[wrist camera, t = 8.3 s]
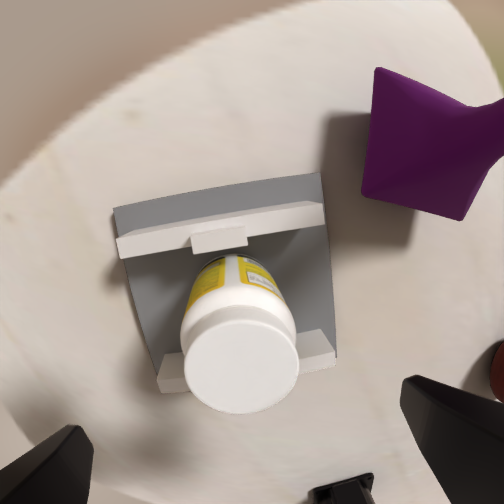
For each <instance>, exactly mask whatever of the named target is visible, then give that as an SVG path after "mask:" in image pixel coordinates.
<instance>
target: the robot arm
mask: <svg viewBox="0 0 504 504" xmlns="http://www.w3.org/2000/svg"><path fill="white" fill-rule="evenodd" d="M400 407H401V409H402V412H403V414H404V416H405V418H406V420H407V423H408V425H409V427H410V429H411V432H412V434H413V436H414V438H415V441H416V443H417V445H418V447H419V449H420V451H421V453H422V455H423V456H424V458H425V460H426V461H427V463H428V465H429V466H430V468H431V470H432V471H433V473H434V475H435V476H436V478H437V480H438V482H439V483H440V485H441V487H442V488H443V490H444V492H445V494H446V495H447V497H448V499H449V501H450V502H451V504H504V403H501V402H497V401H494V400H491V399H488V398H485V397H482V396H479V395H475V394H472V393H469V392H466V391H463V390H460V389H457V388H454V387H451V386H449V385H446V384H443V383H440V382H437V381H434V380H431V379H429V378H426V377H423V376H420V375H413V376H410V377H408V378H405V379H404V380H403V382H402V389H401V396H400ZM93 454H94V449H93V445H92V443H91V442H90V440H89V438H88V437H87V435H86V433H85V432H84V430H83V428H82V427H81V426H79V425H66V426H65V427H63V428H62V429H60V430H59V431H58V432H56V433H55V434H53V435H52V436H50V437H49V438H47V439H46V440H45V441H43V442H42V443H40V444H39V445H37V446H36V447H34V448H33V449H32V450H30V451H28V452H27V453H25V454H24V455H22V456H21V457H19V458H18V459H16V460H15V461H14V462H12V463H10V464H9V465H8V466H6V467H4V468H3V469H1V470H0V504H87V501H88V496H89V489H90V480H91V470H92V462H93ZM373 480H374V475H373V473H368V474H365V475H362V476H359V477H356V478H353V479H349V480H346V481H342V482H339V483H335V484H331V485H328V486H324V487H320V488H316V489H314V490H313V504H375V502H374V500H373V498H372V495H371V489H372V485H373Z"/></svg>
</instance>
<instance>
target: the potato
mask: <svg viewBox="0 0 504 504" xmlns="http://www.w3.org/2000/svg"><path fill="white" fill-rule="evenodd" d="M490 386H491V388H492V391H493V393H494V395H495V397H496V398H497V399H498V400H499V401H501V402H502V403H504V342H503V343H502V344H501V345H500V347H499V348H498V350H497V352H496V354H495V356H494V359H493V362H492V365H491V371H490Z"/></svg>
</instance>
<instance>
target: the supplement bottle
mask: <svg viewBox="0 0 504 504" xmlns="http://www.w3.org/2000/svg"><path fill="white" fill-rule="evenodd" d="M180 340H181V347H182V351H183V354H184V356H185V358H184V375H185V379H186V382H187V384H188V387H189V388H190V390H191V392H192V393H193V394H194V395H195V396H196V397H197V398H198V399H199V400H200V401H201V402H202V403H204V404H205V405H207V406H209V407H210V408H212V409H215V410H217V411H220V412H224V413H229V414H252V413H256V412H260V411H263V410H266V409H268V408H270V407H272V406H274V405H276V404H277V403H278V402H280V401H281V400H282V399H283V398H284V397H286V396H287V394H288V393H289V392H290V391H291V389H292V388H293V386H294V384H295V382H296V380H297V377H298V373H299V357H298V353H297V350H296V347H295V345H296V327H295V322H294V319H293V316H292V314H291V312H290V310H289V308H288V306H287V304H286V302H285V301H284V298H283V296H282V294H281V293H280V291H279V289H278V287H277V285H276V283H275V281H274V279H273V277H272V276H271V274H270V272H269V271H268V269H267V268H266V267H265V266H264V265H263V264H262V263H261V262H259V261H258V260H256V259H254V258H253V257H250V256H247V255H243V254H226V255H222V256H219V257H216V258H214V259H212V260H211V261H209V262H208V263H207V264H205V265H204V266H203V267H202V269H201V270H200V271H199V273H198V274H197V276H196V279H195V281H194V284H193V287H192V291H191V294H190V297H189V301H188V304H187V307H186V311H185V314H184V318H183V321H182V325H181V332H180Z"/></svg>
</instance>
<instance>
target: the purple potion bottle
mask: <svg viewBox="0 0 504 504" xmlns="http://www.w3.org/2000/svg"><path fill="white" fill-rule="evenodd" d="M502 156H504V98H502V99H500V100H498V101H496V102H494V103H492V104H488V105H484V106H480V107H471V106H466V105H464V104H462V103H461V102H459V101H457V100H455V99H453V98H451V97H449V96H447V95H445V94H443V93H441V92H439V91H437V90H435V89H433V88H430V87H428V86H426V85H424V84H422V83H419V82H417V81H415V80H412V79H410V78H408V77H405V76H403V75H400V74H398V73H395V72H393V71H390V70H387V69H385V68H382V67H376V69H375V71H374V83H373V96H372V108H371V118H370V127H369V136H368V145H367V153H366V160H365V167H364V174H363V181H362V187H361V193H362V195H363V196H365V197H367V198H372V199H376V200H380V201H385V202H389V203H393V204H397V205H401V206H405V207H409V208H413V209H417V210H421V211H424V212H428V213H432V214H436V215H439V216H443V217H446V218H450V219H453V220H457V221H462V220H463V219H464V217H465V215H466V213H467V212H468V210H469V208H470V206H471V204H472V202H473V200H474V198H475V196H476V194H477V192H478V190H479V188H480V186H481V185H482V183H483V181H484V179H485V177H486V175H487V173H488V171H489V169H490V168H491V167H492V166H493V165H494V164H495V163H496V162H497V161H498V159H500V158H501V157H502Z"/></svg>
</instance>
